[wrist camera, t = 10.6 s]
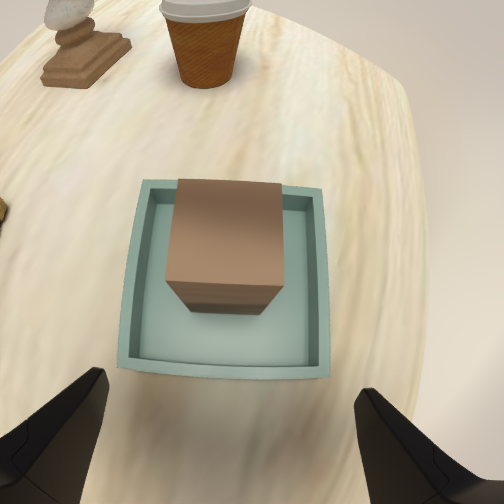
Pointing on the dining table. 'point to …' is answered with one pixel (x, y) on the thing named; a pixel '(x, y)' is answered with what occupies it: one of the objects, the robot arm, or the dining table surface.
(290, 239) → the box
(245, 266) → the walnut block
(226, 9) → the disposable coffee cup
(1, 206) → the gavel
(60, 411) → the robot arm
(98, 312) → the dining table surface
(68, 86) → the candle holder
